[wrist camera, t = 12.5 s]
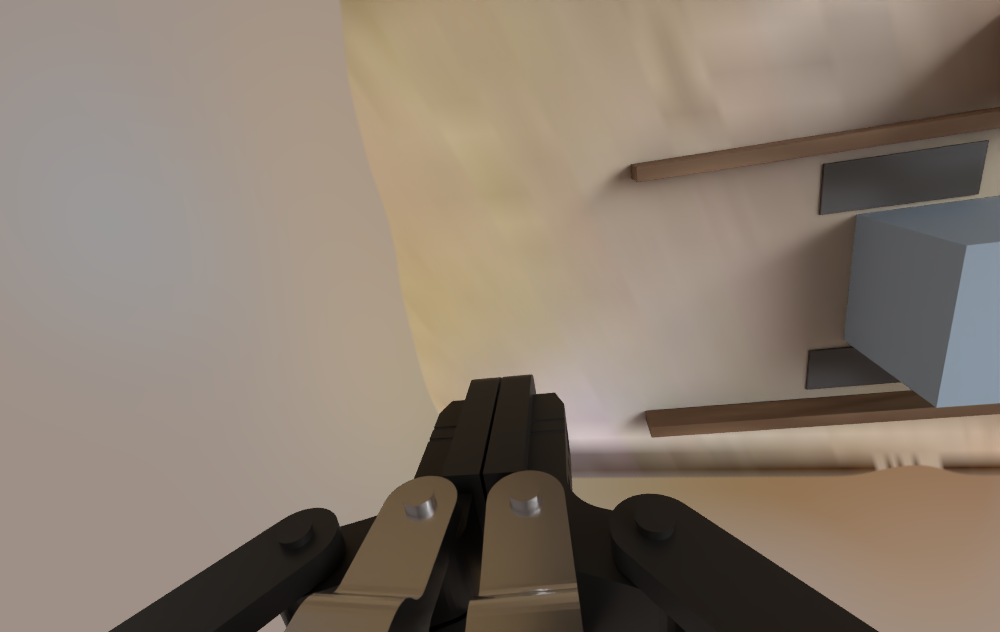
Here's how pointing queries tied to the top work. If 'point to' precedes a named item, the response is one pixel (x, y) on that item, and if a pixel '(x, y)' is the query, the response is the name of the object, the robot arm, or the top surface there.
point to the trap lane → (840, 192)
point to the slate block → (930, 298)
